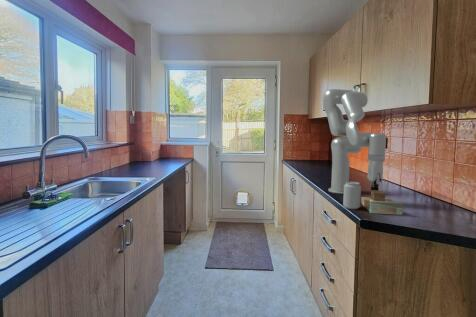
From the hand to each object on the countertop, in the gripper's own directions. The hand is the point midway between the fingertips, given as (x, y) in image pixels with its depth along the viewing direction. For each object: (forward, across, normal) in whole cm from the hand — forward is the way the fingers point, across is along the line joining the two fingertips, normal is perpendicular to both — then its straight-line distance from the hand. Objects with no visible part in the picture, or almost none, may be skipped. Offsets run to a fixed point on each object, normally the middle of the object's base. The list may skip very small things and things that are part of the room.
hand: (374, 194), depth 153 cm
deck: (+4, +12, 0) cm, 12 cm away
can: (+4, +12, -13) cm, 19 cm away
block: (+1, +6, 0) cm, 7 cm away
